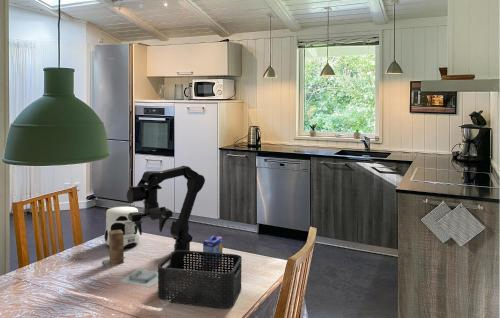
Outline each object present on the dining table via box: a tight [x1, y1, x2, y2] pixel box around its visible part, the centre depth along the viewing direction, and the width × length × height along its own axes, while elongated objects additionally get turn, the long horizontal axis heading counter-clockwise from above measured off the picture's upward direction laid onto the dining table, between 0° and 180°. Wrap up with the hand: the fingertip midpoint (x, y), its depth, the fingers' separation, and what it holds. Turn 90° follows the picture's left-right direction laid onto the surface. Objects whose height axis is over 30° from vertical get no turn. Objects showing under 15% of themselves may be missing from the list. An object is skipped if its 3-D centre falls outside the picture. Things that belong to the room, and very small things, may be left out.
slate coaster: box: [102, 256, 126, 269], centre depth 182 cm, size 10×10×1 cm
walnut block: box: [108, 230, 125, 266], centre depth 181 cm, size 5×5×14 cm
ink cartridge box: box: [202, 233, 224, 267], centre depth 182 cm, size 10×6×14 cm, turn 158°
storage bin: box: [157, 250, 242, 309], centre depth 153 cm, size 29×19×13 cm
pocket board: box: [118, 268, 158, 288], centre depth 166 cm, size 14×14×2 cm
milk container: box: [104, 206, 141, 248], centre depth 206 cm, size 17×17×18 cm
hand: (150, 233), depth 184 cm, fingers open, 9 cm apart
